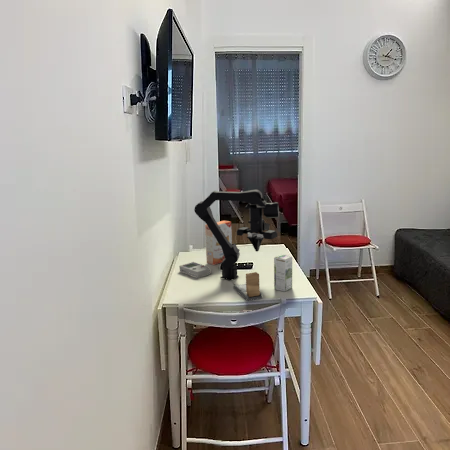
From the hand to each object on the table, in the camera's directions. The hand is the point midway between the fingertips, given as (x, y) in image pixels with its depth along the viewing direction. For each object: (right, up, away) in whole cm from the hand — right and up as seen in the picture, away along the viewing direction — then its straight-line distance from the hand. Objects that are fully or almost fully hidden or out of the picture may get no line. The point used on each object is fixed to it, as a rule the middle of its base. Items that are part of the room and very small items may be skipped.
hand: (257, 251), depth 200 cm
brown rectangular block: (-3, -17, -21) cm, 27 cm away
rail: (-5, -17, -15) cm, 23 cm away
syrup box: (+11, -16, -12) cm, 22 cm away
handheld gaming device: (-29, -12, +15) cm, 35 cm away
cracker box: (-17, -7, +32) cm, 37 cm away
